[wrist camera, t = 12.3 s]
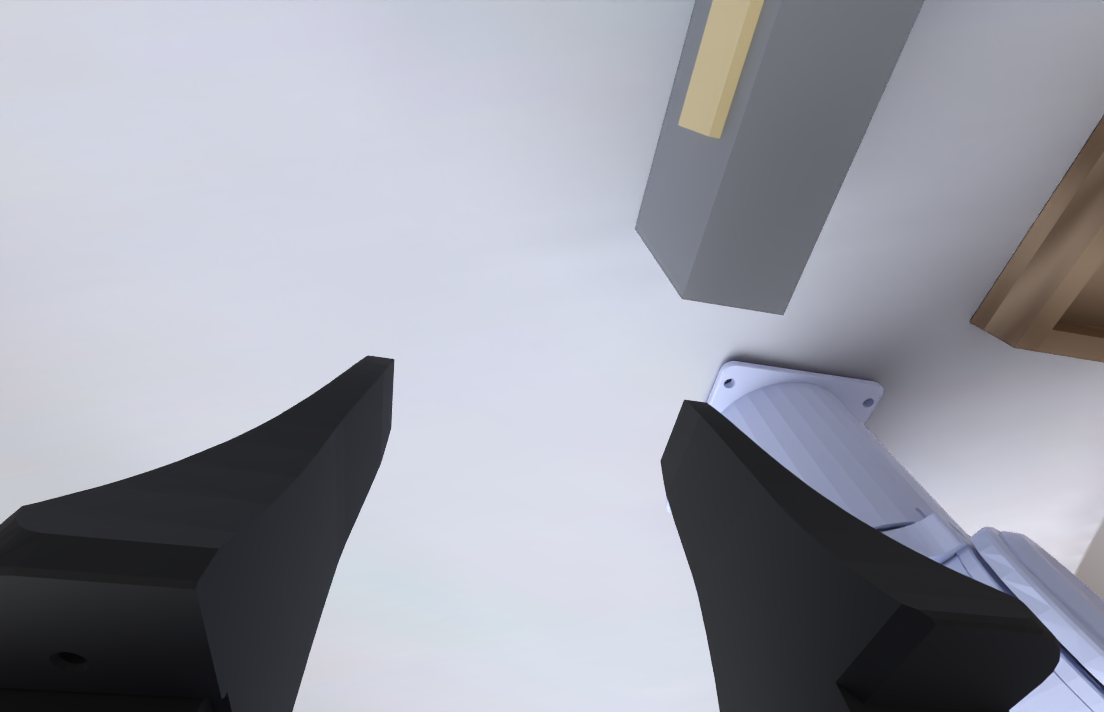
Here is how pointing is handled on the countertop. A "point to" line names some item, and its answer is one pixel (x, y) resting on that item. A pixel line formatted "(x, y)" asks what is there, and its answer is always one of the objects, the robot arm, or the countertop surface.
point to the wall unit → (763, 139)
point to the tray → (1057, 270)
